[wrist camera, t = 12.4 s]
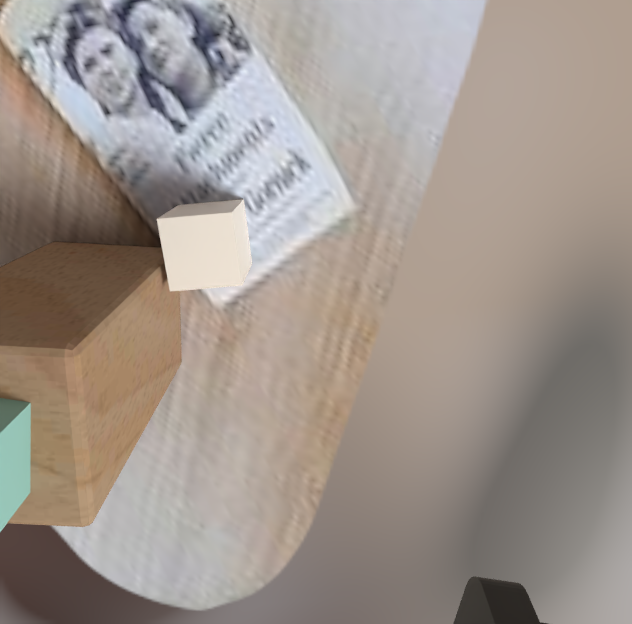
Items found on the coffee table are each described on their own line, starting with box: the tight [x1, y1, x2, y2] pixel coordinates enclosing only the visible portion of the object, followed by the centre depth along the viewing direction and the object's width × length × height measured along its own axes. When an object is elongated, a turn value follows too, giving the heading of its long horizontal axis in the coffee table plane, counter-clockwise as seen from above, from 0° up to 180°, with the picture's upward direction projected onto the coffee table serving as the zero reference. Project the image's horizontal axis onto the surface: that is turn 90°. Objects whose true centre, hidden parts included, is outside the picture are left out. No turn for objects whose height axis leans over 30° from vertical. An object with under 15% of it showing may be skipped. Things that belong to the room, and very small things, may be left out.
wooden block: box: [0, 242, 182, 527], centre depth 36 cm, size 10×10×20 cm
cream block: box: [157, 199, 252, 291], centre depth 41 cm, size 5×5×6 cm
